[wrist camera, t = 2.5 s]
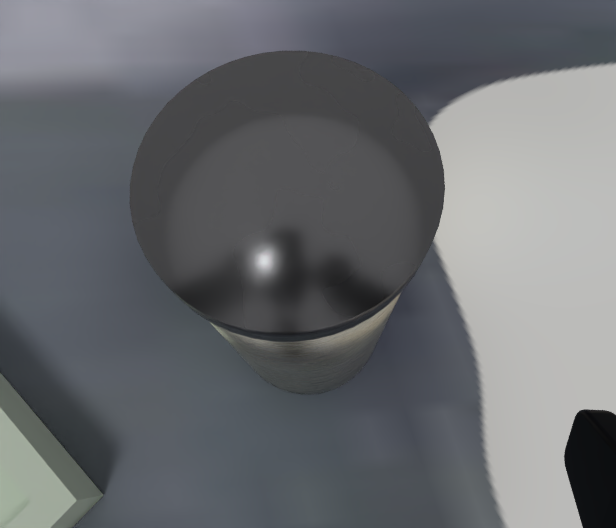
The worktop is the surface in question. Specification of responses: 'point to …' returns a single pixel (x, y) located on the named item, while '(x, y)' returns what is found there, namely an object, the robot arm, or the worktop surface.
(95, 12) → the worktop surface
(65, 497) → the tray
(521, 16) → the worktop surface
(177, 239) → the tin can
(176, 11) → the worktop surface
